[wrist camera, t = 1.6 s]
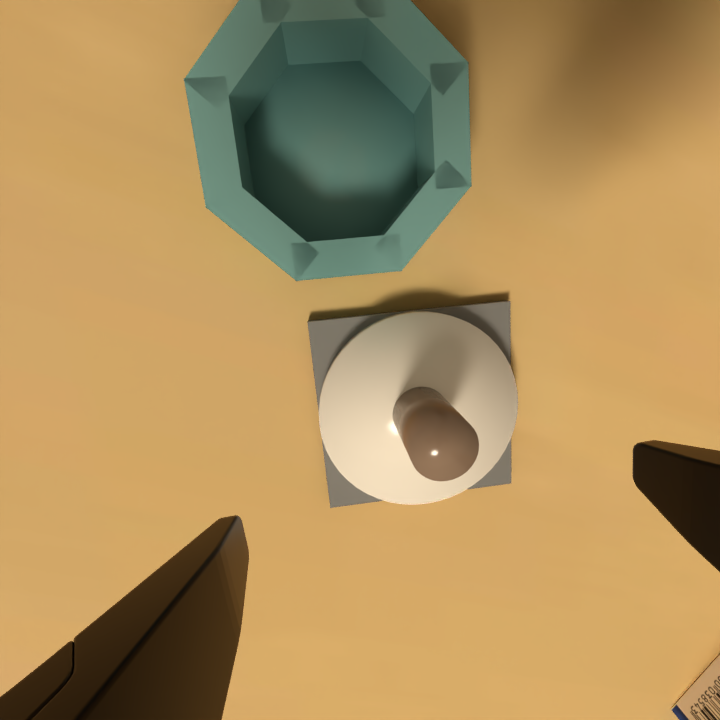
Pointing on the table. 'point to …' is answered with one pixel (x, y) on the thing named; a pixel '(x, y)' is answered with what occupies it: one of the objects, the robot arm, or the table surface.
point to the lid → (417, 407)
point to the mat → (338, 331)
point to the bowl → (331, 131)
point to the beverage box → (701, 696)
